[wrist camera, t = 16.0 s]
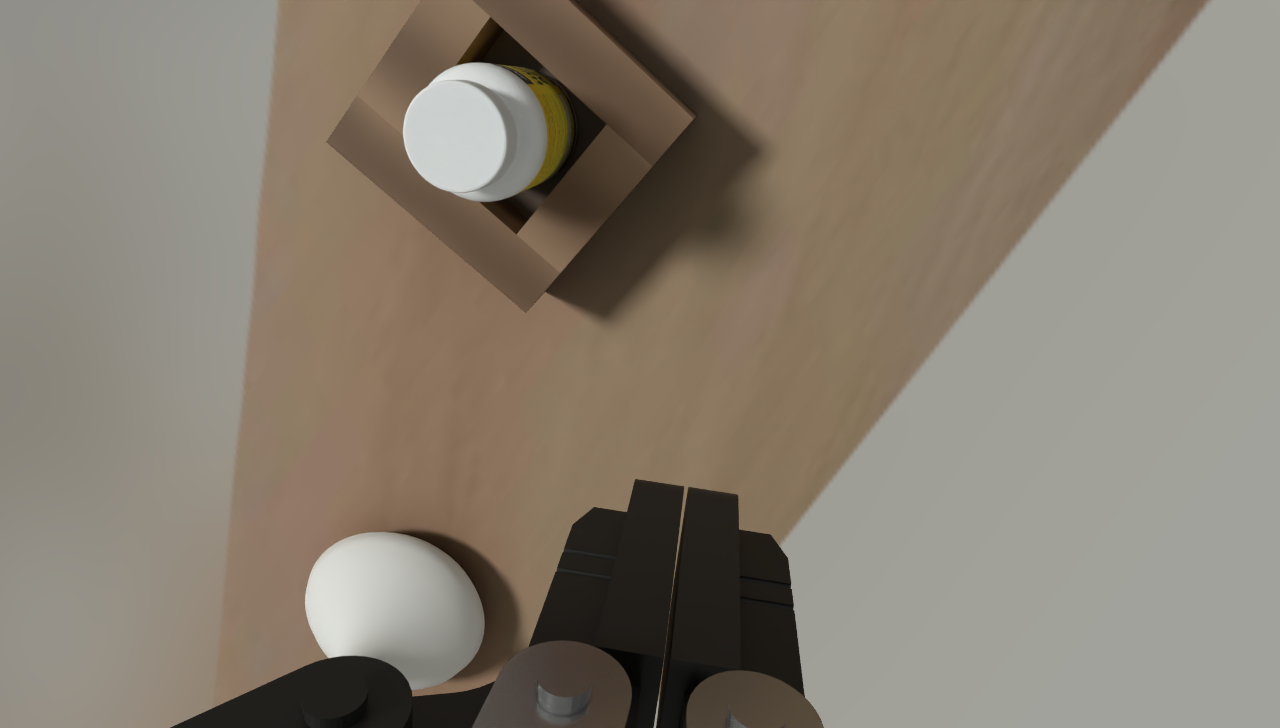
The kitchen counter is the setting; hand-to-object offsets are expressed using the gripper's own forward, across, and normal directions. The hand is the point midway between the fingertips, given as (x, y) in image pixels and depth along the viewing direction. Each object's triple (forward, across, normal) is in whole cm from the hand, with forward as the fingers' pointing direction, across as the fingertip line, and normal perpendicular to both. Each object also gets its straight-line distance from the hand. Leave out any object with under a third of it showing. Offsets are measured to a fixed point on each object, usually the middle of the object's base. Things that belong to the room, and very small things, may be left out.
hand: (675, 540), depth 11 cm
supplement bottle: (+28, +10, -3) cm, 30 cm away
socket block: (+29, +10, -3) cm, 31 cm away
